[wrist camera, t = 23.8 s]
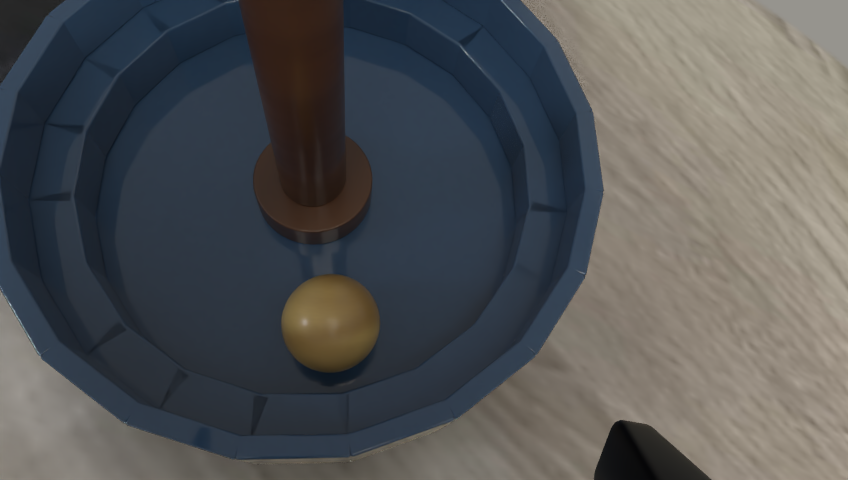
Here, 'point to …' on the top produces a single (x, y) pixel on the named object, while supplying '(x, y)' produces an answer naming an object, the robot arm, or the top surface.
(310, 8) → the stirring stick
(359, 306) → the bead
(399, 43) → the bowl
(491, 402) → the top surface
